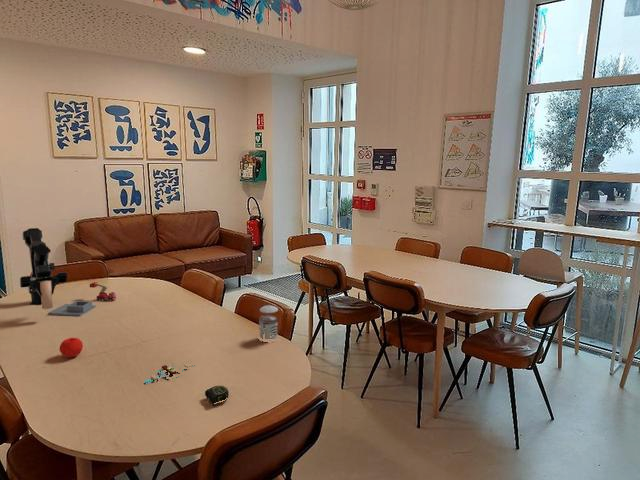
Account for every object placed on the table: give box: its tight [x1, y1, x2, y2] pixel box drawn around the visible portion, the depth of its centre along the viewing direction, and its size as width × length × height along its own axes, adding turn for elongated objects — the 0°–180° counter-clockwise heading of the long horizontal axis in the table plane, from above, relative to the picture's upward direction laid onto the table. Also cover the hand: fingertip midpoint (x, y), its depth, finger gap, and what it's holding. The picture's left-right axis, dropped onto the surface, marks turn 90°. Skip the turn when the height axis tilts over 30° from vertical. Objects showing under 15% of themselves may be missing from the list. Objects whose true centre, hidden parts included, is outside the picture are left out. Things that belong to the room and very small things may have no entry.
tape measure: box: [204, 385, 230, 405], centre depth 142 cm, size 7×7×4 cm
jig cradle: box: [47, 300, 96, 317], centre depth 219 cm, size 16×14×4 cm
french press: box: [258, 284, 279, 339], centre depth 190 cm, size 10×12×25 cm
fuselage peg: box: [40, 280, 54, 310], centre depth 202 cm, size 4×4×12 cm
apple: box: [58, 337, 84, 358], centre depth 169 cm, size 8×8×7 cm
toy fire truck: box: [89, 281, 117, 302], centre depth 237 cm, size 3×14×10 cm, turn 84°
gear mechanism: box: [144, 362, 190, 384], centre depth 158 cm, size 20×5×9 cm
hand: (46, 294), depth 201 cm, fingers closed on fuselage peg, 4 cm apart
